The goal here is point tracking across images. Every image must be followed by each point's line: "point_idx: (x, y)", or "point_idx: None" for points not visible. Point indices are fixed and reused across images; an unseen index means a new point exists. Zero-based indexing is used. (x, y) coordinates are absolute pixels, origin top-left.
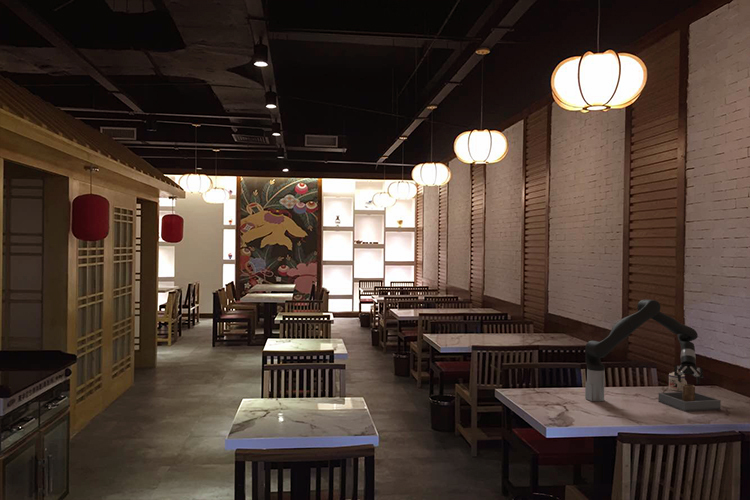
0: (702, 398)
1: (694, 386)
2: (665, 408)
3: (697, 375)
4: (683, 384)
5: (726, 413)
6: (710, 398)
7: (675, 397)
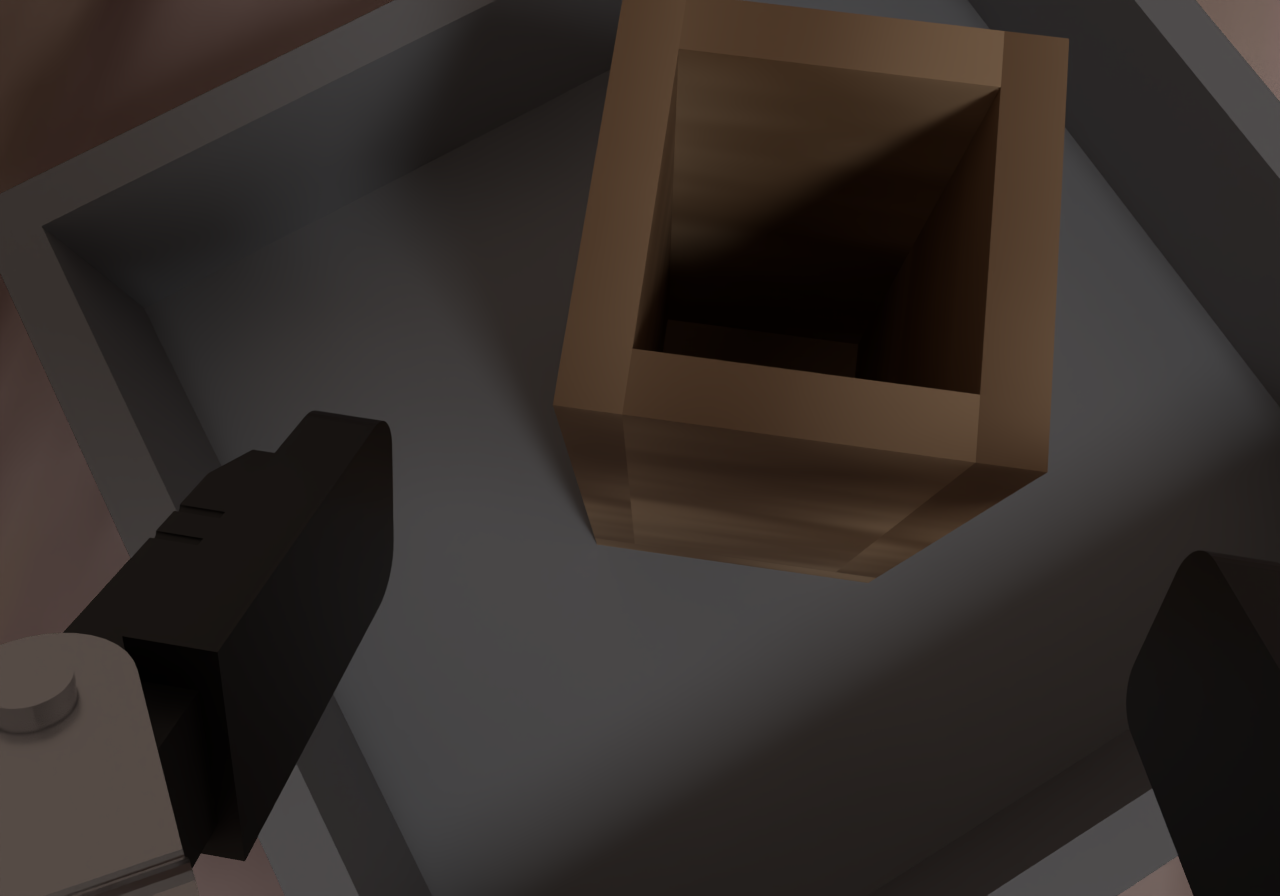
0: (314, 729)
1: (613, 114)
2: (1273, 20)
3: (104, 708)
4: (1025, 360)
5: (102, 45)
6: (154, 444)
7: (1046, 798)
